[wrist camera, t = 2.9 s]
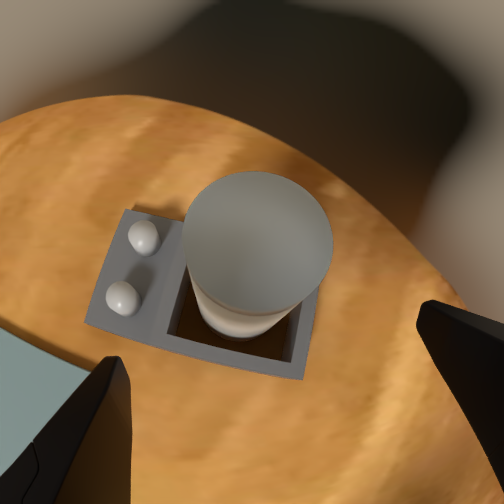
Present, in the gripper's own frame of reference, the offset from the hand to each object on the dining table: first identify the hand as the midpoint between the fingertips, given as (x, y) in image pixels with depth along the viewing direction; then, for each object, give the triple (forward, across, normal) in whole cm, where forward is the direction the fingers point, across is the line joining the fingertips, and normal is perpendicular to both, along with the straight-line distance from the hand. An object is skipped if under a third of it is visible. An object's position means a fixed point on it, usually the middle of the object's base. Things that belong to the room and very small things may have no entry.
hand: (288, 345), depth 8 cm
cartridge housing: (+11, +2, +4) cm, 12 cm away
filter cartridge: (+10, 0, +5) cm, 11 cm away
